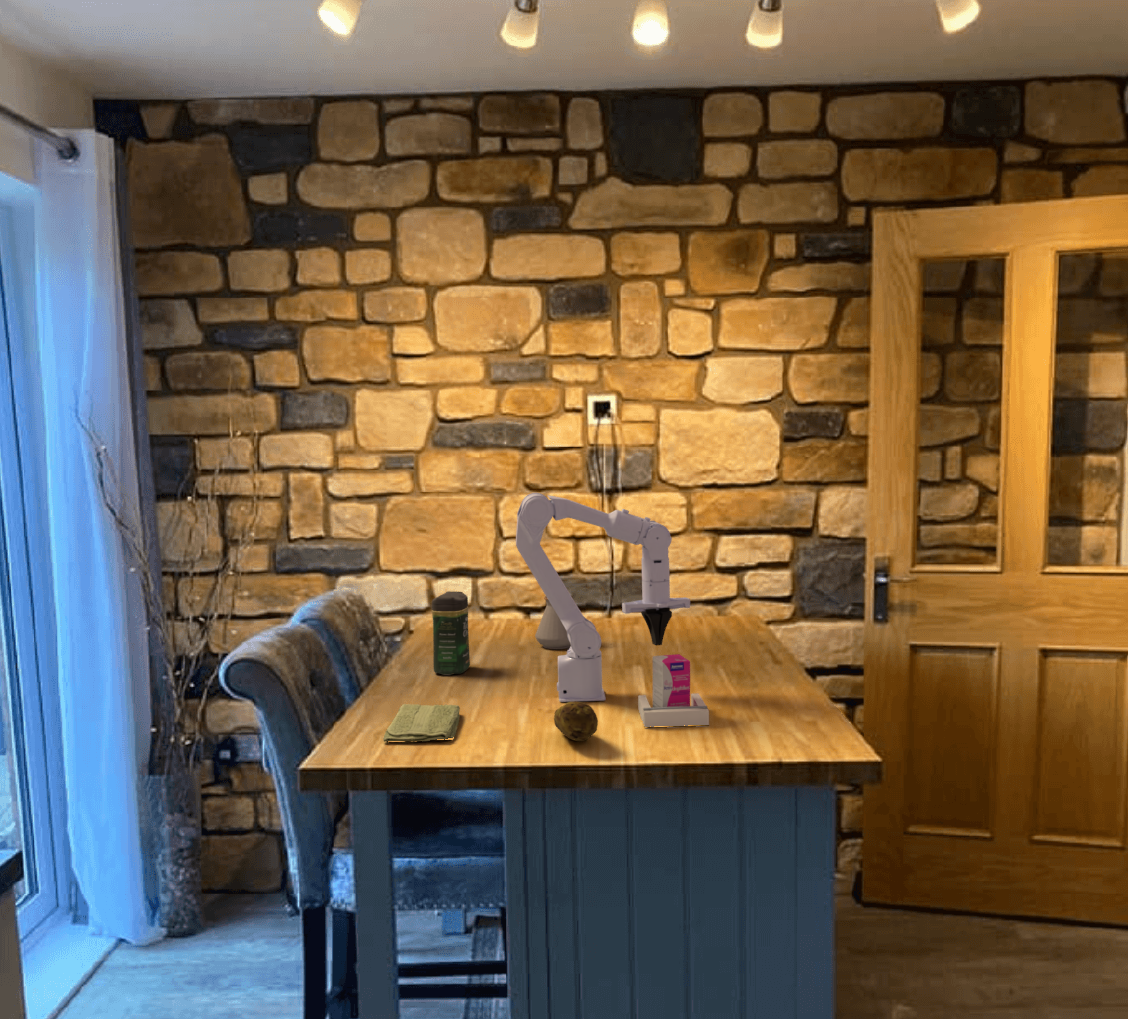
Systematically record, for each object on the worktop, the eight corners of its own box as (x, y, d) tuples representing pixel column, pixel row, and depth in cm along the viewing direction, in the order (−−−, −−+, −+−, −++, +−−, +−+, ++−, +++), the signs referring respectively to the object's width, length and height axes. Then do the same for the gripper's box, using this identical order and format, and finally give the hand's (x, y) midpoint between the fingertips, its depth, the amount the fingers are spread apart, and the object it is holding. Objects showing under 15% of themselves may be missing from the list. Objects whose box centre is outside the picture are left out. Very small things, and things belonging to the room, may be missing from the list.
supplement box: (662, 722, 177) (661, 662, 176) (652, 713, 183) (651, 655, 182) (691, 719, 178) (690, 660, 177) (680, 710, 184) (679, 653, 183)
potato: (600, 729, 173) (599, 687, 173) (597, 753, 161) (596, 708, 160) (555, 729, 174) (554, 687, 173) (549, 753, 161) (548, 708, 161)
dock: (644, 728, 174) (644, 711, 173) (638, 710, 185) (638, 694, 185) (709, 725, 174) (708, 708, 174) (698, 708, 185) (698, 692, 185)
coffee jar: (463, 676, 214) (460, 596, 213) (430, 675, 215) (426, 596, 214) (474, 665, 224) (471, 589, 222) (442, 665, 225) (439, 589, 223)
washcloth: (381, 747, 168) (380, 730, 168) (399, 717, 186) (398, 701, 186) (453, 746, 168) (453, 728, 168) (465, 716, 186) (464, 700, 185)
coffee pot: (581, 650, 237) (579, 591, 235) (535, 651, 236) (534, 593, 235) (576, 632, 258) (574, 578, 257) (534, 633, 257) (532, 579, 256)
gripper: (630, 585, 189) (631, 651, 190) (695, 580, 193) (697, 644, 194) (617, 580, 195) (619, 644, 196) (681, 575, 199) (682, 637, 201)
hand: (657, 644), depth 196 cm, fingers closed
